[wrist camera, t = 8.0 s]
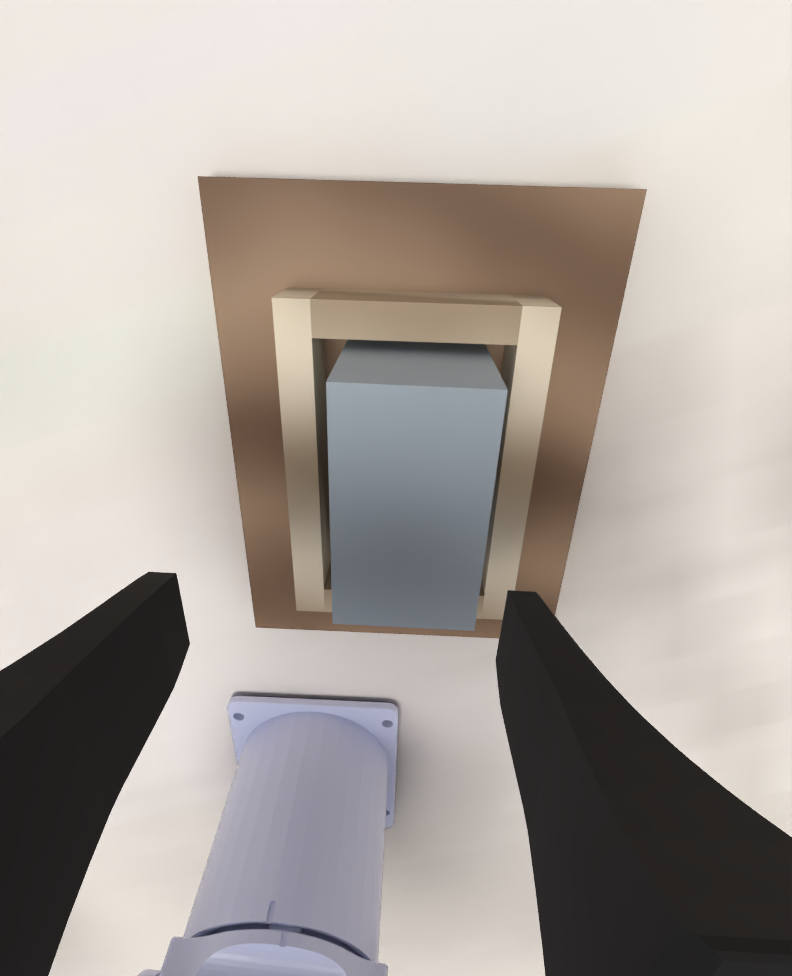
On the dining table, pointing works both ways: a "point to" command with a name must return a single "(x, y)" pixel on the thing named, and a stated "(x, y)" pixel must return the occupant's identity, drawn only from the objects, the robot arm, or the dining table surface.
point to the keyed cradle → (414, 318)
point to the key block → (411, 480)
